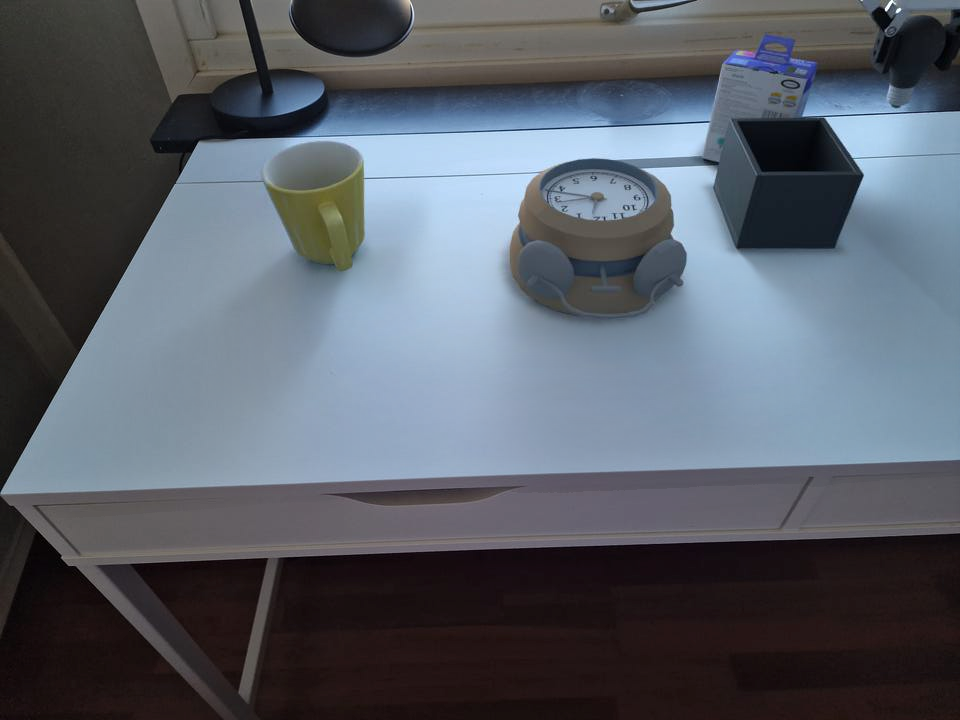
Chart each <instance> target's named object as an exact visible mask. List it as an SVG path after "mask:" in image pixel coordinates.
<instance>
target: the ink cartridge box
mask: <svg viewBox="0 0 960 720" xmlns="http://www.w3.org/2000/svg"><path fill="white" fill-rule="evenodd" d="M795 43H796V39H795V38H788V37H783V36H777V35H772V34H766V33H764V34H763V36H762V39H761V42H760V44H759V46H758V47H757V48H758V49H757V50H756V52H751V51H746V50H741V49H740V50H739V49H736V50H735V51H734V52H733V53H731V55H729V57H728V58H727V59H726V60H724V62H723V63H722V64H721V69H720V73H719V77H718V83H717V87H716V92H715V95H714V100H713V104H712V109H711V114H710V118H709V123H708V128H707V132H706V138H705V141H704V145H703V150H702V154H701V159H703V160H709V161H712V162H717V163H719V161H720V157H721V153H722V148H723V144H724V140H725V136H726V132H727V127H728V123H729V119H730V118H735V119H736V118H803V115H804V113H805V109H806V106H807V102H808V100H809V96H810V94H811V90H812V88H813V87H812V86H813V82H814V80H815V77H816V73H817V69H818V66H819V63H818V62H816V61H809V60H805V59H804V60H803V59H797V58H791V55H792V52H793V49H794V46H795ZM767 44H768V45H769V44H779V45H781V46H783V47H785V48H786V50H785V51H784V52H783V51H778V50H774V49H773V50H772V49H767V48H766V47H765V46H766V45H767Z"/></svg>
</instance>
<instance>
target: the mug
mask: <svg viewBox="0 0 960 720" xmlns="http://www.w3.org/2000/svg"><path fill="white" fill-rule="evenodd" d="M260 178H261V181H262V184H263V185H264V187H265V190H266V192H267V195H268V196H269V199H270V201H271V202H272V205H273V207H274V209H275V211H276V214H277V215H278V217H279V219H280V221H281V224H282V226H283V228H284V230H285V232H286V234H287V237H288V238H289V241H290V243H291V246H292V248H293V249H294V250H295V252H296V253H297V254H299V255H300V256H301V257H303V258H305V259H306V260H308V261H311V262H313V263H315V264H318V265H334V266H335V267H336V270H337V271H339V272H344V271H348V270H350V269H352V267H353V260H352V257H353V256H354V255H355V254H356V252H357V251H358V249H359V248H360V247H361V246H362V244H363V242H364V240H365V236H366V225H365V224H366V221H365V159H364V156H363V154H362V153H361V151H360V150H358V148H356V147H355V146H353V145H351V144H348V143H345V142H340V141H336V140H335V141H334V140H315V141H307V142H306V141H305V142H301V143H298V144H294V145H291V146H288V147H286V148H283V149H281V150H280V151H278V152H276V153H274V154H272V155H271V156H270V157H269V158H268V159H267V160H266V161H265V162H264V164H263V165H262V167H261V170H260Z"/></svg>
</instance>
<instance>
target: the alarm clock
mask: <svg viewBox="0 0 960 720" xmlns="http://www.w3.org/2000/svg"><path fill="white" fill-rule="evenodd" d="M530 180H531V181H529V183H528V184H527V186H526V187H525V192H524V198H523V199H522V201H521V202H520V205H519V209H518V214H517V217H518V220H519V222H518V224H517V225H516V227H515V228H514V229H513V231H512V235H511V238H510V244H509V266H510V271H511V275H512V278H513V279H514V281H515V282H516V284H517V285H518V287H519V289H521V291H522V292H524V294H526V295H528V296H529V297H530V298H531V299H532V300H533V301H535V302H536V303H539V304H540V305H543V306H545V307H548V308H549V309H551V310H554V311H557V312H562V313H566V314H570V315H573V316H580V317H582V318H589V319H597V320H599V319H600V320H619V319H629V318H636V317H639V316H641V315H644V314H646V313H647V312H648V311H649V310H650V309H651V308H652V307H653V306H654V302H655V301H657V300H658V299H659V298H660V297H661V296H662V295H664V294H665V293H667V292H668V291H670V290H671V289H673V288H674V286H676V287H678V288H682V287H683V286H684V281H683V279H682V278H681V277H682V276H683V275H684V271H685V269H686V266H687V261H688V259H687V258H688V253H687V250H686V249H685V247H684V245H683V243H682V242H680V241H679V240H677V239H674V237H673V235H672V231H673V229H674V227H675V218H674V217H675V216H674V211H673V208H672V206H673V205H672V195H671V193H670V191H669V190H668V188H667V186H666V184H664V183H663V182H662V181H661V180H660V179H659V178H657V176H655V175H654V174H652V173H651V172H648V171H646V170H644V169H643V168H641V167H638V166H637V165H633V164H630V163H626V162H624V161H620V160H615V159H609V158H597V157H596V158H592V157H591V158H580V159H574V160H570V161H566V162H562V163H558V164H556V165H553V166H551V167H549V168H546V169H543V170H542V171H541V172H539V173H538V174H537V175H535V176H534V177H533V178H532V179H530Z"/></svg>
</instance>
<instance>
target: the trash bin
mask: <svg viewBox="0 0 960 720" xmlns="http://www.w3.org/2000/svg"><path fill="white" fill-rule="evenodd" d="M847 149H848V148H846V146H845V145H844V144H843V142H842V141H841V139H840V138H839V136H838V135H837V133H836V132H835V130H834V129H833V128H832V126H831V124H830V123H829V122H828V121H827V119H826V117H825V116H824V117H823V116H822V117H821V116H820V117H802V118H736V119H735V118H730V119H729V123H728V127H727V132H726V136H725V140H724V144H723V148H722V153H721V157H720V161H719V162H718V166H717V170H716V174H715V177H714V178H715V179H714V183H713V187H712V188H713V191H714V194H715V197H716V199H717V202H718V204H719V207H720V210H721V212H722V215H723V217H724V220H725V223H726V225H727V228H728V231H729V233H730V235H731V239H732V241H733V244H734V247H735V249H835V248H836V245H837V243H838V241H839V238H840V237H841V233H842V230H843V228H844V225H845V224H846V221H847V219H848V216H849V214H850V211H851V209H852V206H853V204H854V201H855V199H856V196H857V194H858V191H859V189H860V186H861V184H862V181H863V179H864V176H865V174H864V173H863V171H862V169H861V168H860V167H859V165H858V164H857V162H856V161H855V159H854V157H853V156H852V155H851V154H850V152H849V151H848V150H847Z"/></svg>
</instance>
